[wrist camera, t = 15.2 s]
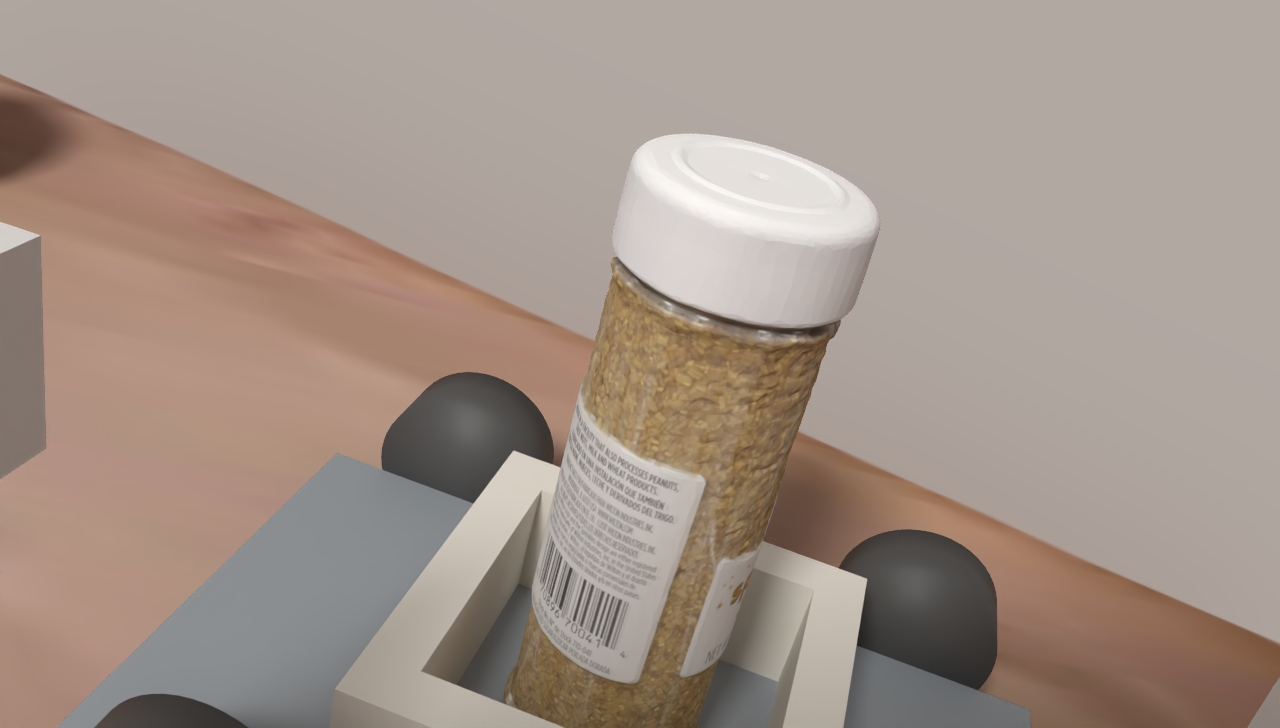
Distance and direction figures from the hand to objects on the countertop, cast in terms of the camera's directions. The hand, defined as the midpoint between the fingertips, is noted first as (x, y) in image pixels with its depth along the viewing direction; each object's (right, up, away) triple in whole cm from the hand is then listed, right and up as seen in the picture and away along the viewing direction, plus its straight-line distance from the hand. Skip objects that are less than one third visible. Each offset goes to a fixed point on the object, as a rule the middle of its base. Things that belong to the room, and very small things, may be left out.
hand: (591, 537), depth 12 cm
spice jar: (-1, -7, +15) cm, 16 cm away
